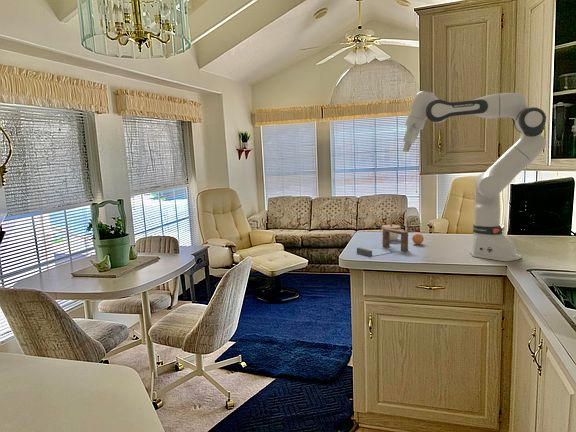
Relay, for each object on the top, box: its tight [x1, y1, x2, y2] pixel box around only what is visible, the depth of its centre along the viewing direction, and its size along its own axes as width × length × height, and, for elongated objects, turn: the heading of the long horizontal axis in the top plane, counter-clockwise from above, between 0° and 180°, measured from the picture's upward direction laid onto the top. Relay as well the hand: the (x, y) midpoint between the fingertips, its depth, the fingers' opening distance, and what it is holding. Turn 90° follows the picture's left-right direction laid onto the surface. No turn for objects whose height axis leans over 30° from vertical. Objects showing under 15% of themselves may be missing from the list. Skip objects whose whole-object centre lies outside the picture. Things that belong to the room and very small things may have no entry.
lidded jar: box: [381, 223, 402, 241], centre depth 249 cm, size 11×11×9 cm
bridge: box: [382, 228, 409, 252], centre depth 226 cm, size 3×15×10 cm, turn 32°
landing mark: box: [368, 248, 393, 257], centre depth 220 cm, size 12×12×1 cm
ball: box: [411, 232, 424, 245], centre depth 235 cm, size 6×6×6 cm
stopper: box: [356, 247, 372, 257], centre depth 216 cm, size 9×2×2 cm, turn 32°
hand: (405, 151), depth 217 cm, fingers open, 8 cm apart
